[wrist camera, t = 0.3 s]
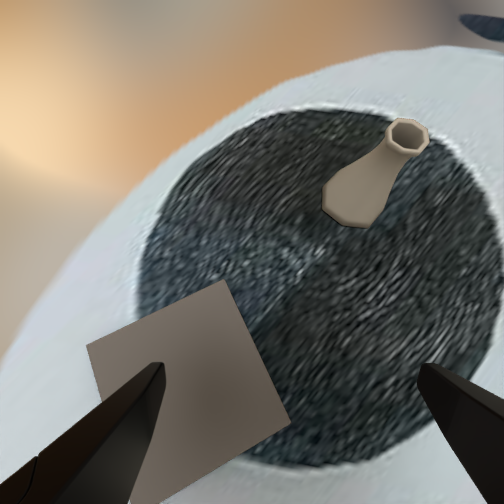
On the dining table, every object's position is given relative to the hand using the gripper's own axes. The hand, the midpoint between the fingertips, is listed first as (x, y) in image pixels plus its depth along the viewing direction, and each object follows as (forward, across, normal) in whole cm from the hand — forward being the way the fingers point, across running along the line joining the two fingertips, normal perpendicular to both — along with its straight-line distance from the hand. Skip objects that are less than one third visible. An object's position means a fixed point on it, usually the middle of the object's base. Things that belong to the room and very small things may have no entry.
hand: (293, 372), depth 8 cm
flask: (+21, -10, -4) cm, 24 cm away
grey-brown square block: (+11, +7, +11) cm, 17 cm away
